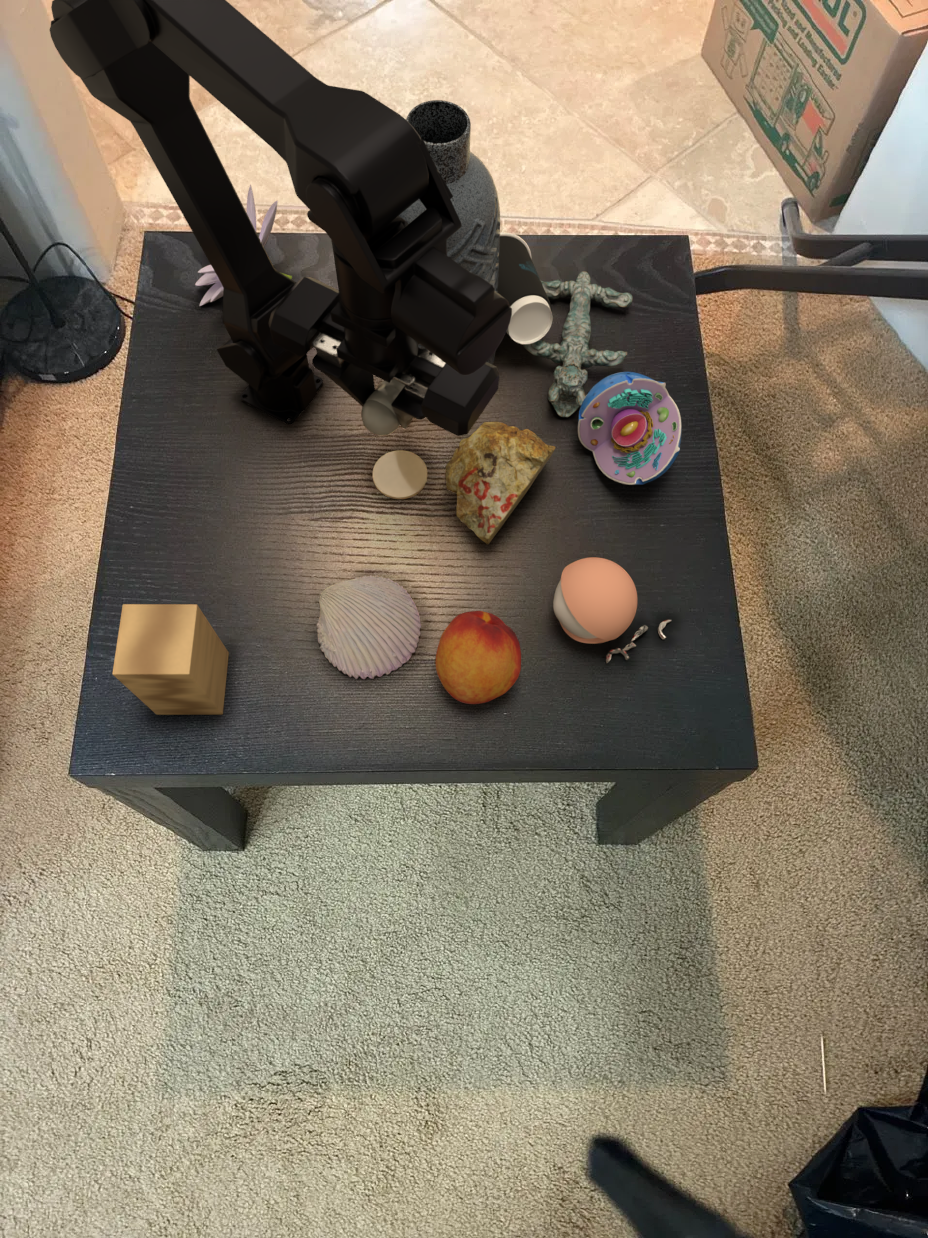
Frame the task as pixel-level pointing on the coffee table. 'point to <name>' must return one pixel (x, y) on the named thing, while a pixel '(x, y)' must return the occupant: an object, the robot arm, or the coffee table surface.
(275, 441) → the coffee table surface
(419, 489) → the coaster
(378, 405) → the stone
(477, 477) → the rock
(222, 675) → the stand
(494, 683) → the fruit
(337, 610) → the seashell
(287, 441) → the coffee table surface
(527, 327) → the dixie cup
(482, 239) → the vase
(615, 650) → the toy
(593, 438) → the cell model
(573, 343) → the sculpture
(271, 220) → the water lily
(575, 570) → the toy ball
